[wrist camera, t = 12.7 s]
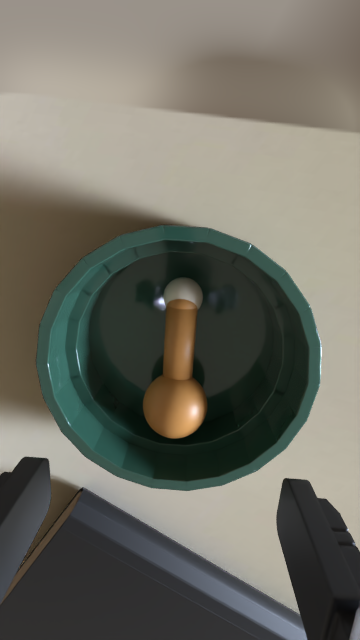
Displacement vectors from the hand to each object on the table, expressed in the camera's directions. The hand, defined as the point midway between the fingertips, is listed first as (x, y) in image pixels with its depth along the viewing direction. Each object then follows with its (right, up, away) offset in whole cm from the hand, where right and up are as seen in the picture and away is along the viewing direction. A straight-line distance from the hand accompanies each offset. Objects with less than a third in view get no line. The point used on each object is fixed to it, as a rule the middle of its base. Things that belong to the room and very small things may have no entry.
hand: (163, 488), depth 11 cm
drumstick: (+1, +3, +14) cm, 15 cm away
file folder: (-1, -28, +24) cm, 36 cm away
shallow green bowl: (+1, +4, +15) cm, 15 cm away
